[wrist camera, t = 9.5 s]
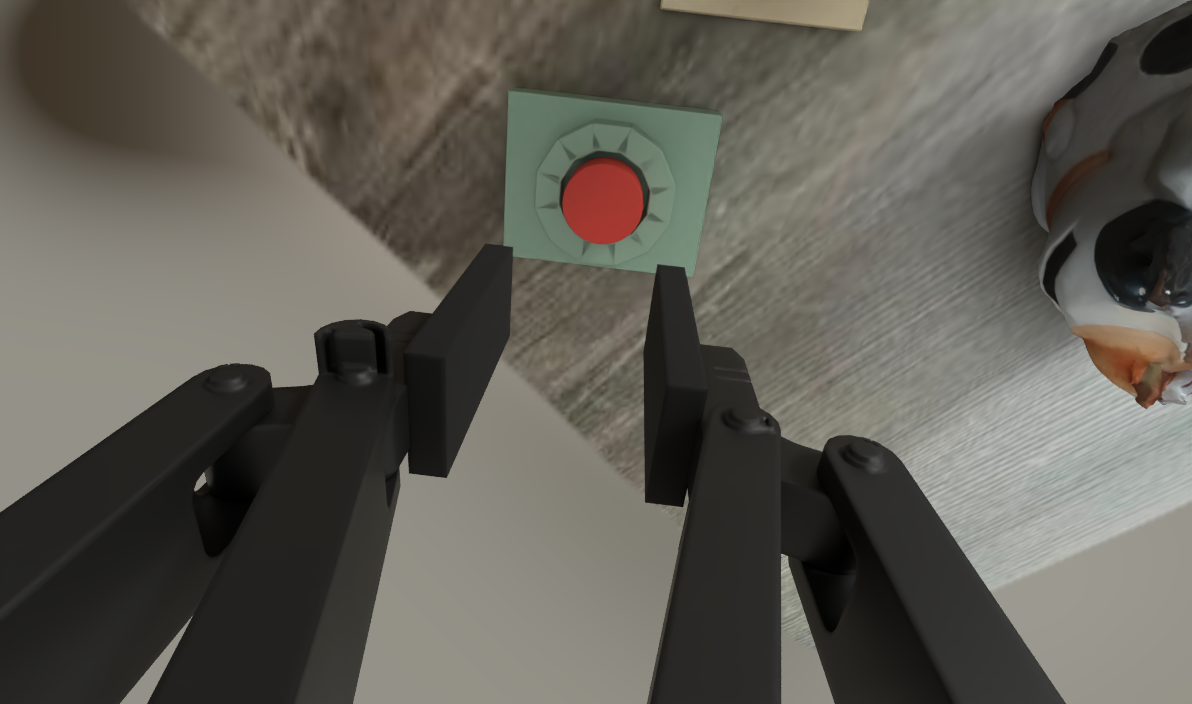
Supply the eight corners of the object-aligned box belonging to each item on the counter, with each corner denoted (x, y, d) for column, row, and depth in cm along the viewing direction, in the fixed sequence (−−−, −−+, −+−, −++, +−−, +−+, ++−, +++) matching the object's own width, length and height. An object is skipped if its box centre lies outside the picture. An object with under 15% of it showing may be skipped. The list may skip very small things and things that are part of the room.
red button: (563, 229, 30) (559, 240, 28) (569, 152, 28) (565, 159, 26) (637, 238, 29) (637, 249, 28) (648, 161, 28) (648, 169, 26)
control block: (510, 243, 34) (495, 267, 30) (516, 87, 30) (500, 93, 27) (690, 264, 34) (695, 291, 30) (717, 110, 30) (728, 119, 26)
